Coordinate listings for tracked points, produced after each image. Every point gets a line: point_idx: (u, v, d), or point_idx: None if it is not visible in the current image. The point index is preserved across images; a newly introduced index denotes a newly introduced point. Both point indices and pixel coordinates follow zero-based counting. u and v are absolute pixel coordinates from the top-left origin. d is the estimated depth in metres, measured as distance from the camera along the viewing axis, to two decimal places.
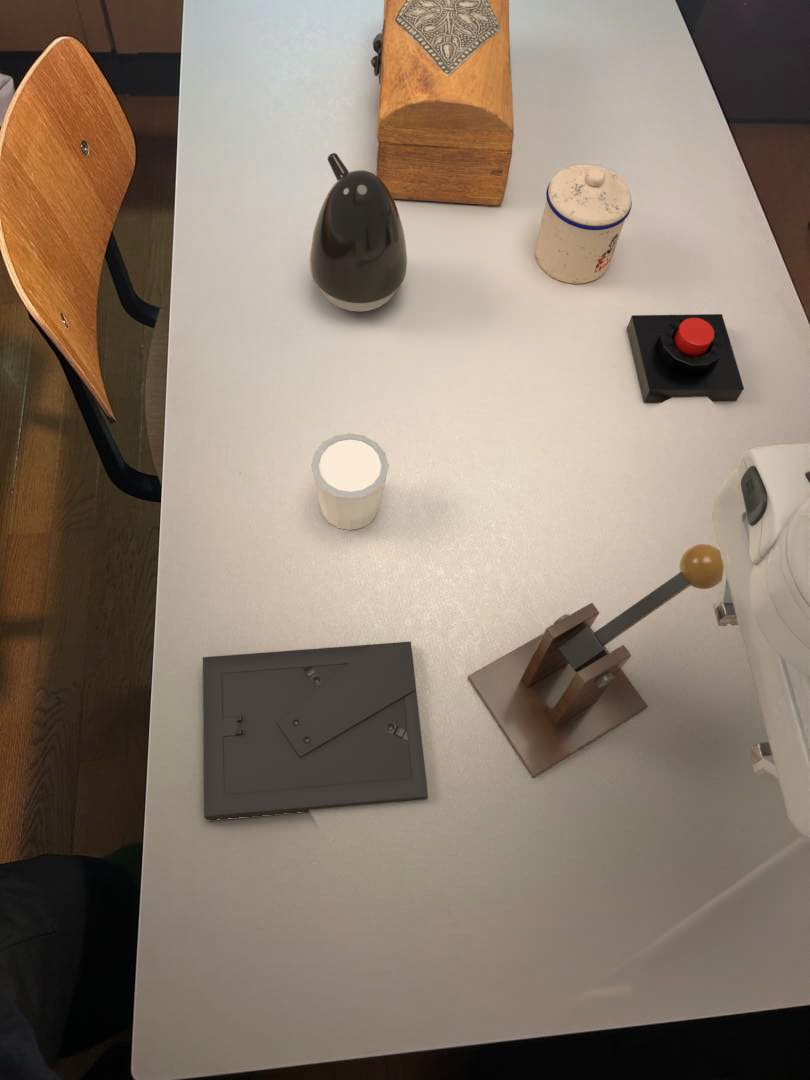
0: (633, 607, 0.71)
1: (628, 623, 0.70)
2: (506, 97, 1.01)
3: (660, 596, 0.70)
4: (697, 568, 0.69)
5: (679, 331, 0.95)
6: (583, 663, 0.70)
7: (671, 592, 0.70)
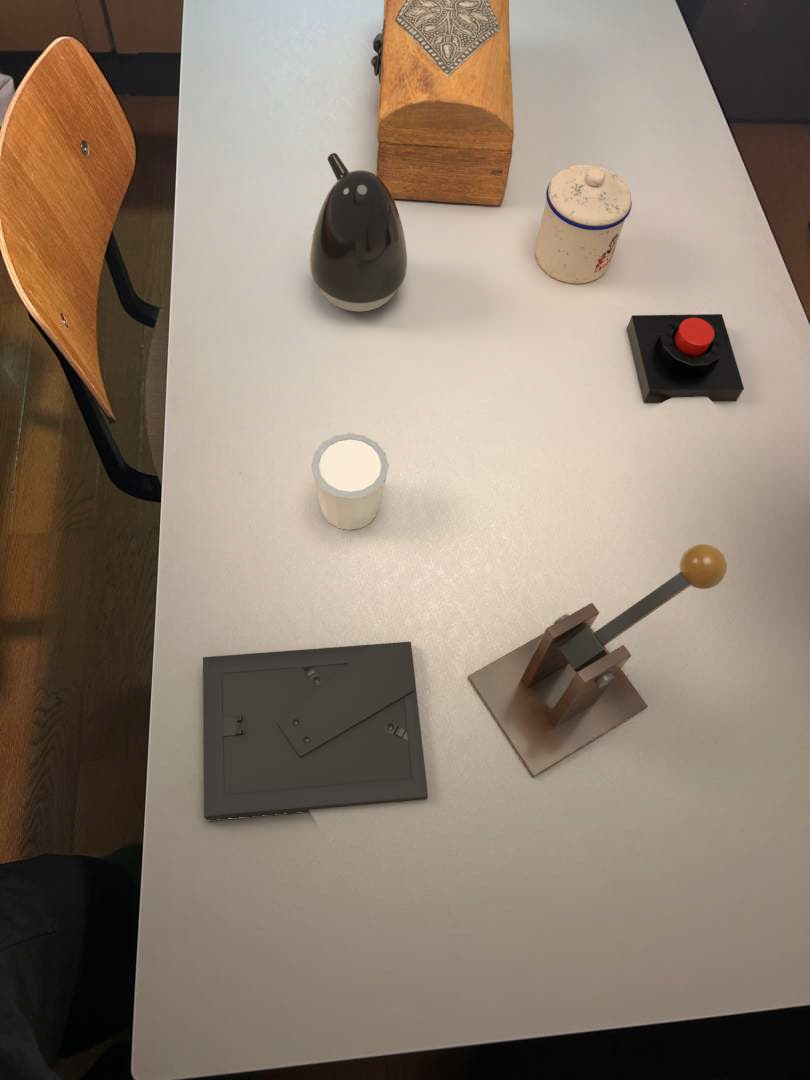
0: (633, 607, 0.71)
1: (628, 623, 0.70)
2: (506, 97, 1.01)
3: (660, 596, 0.70)
4: (697, 568, 0.69)
5: (679, 331, 0.95)
6: (583, 663, 0.70)
7: (671, 592, 0.70)
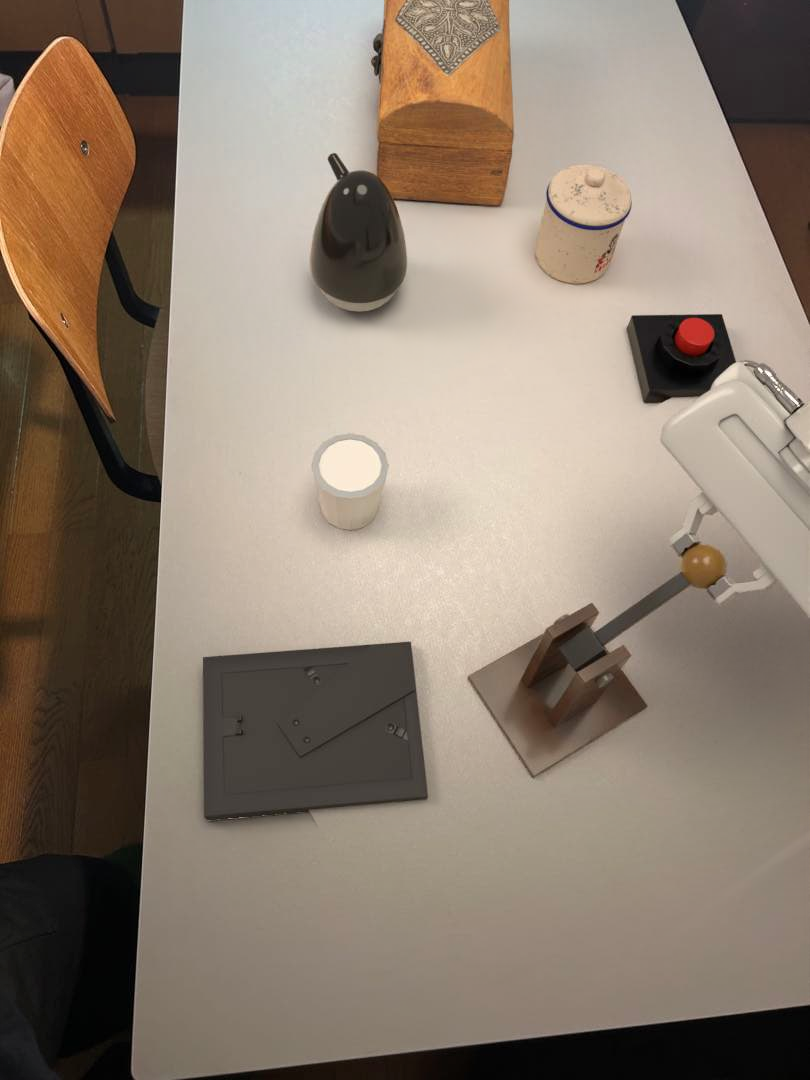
0: (633, 607, 0.71)
1: (628, 623, 0.70)
2: (506, 97, 1.01)
3: (660, 596, 0.70)
4: (697, 568, 0.69)
5: (679, 331, 0.95)
6: (583, 663, 0.70)
7: (671, 592, 0.70)
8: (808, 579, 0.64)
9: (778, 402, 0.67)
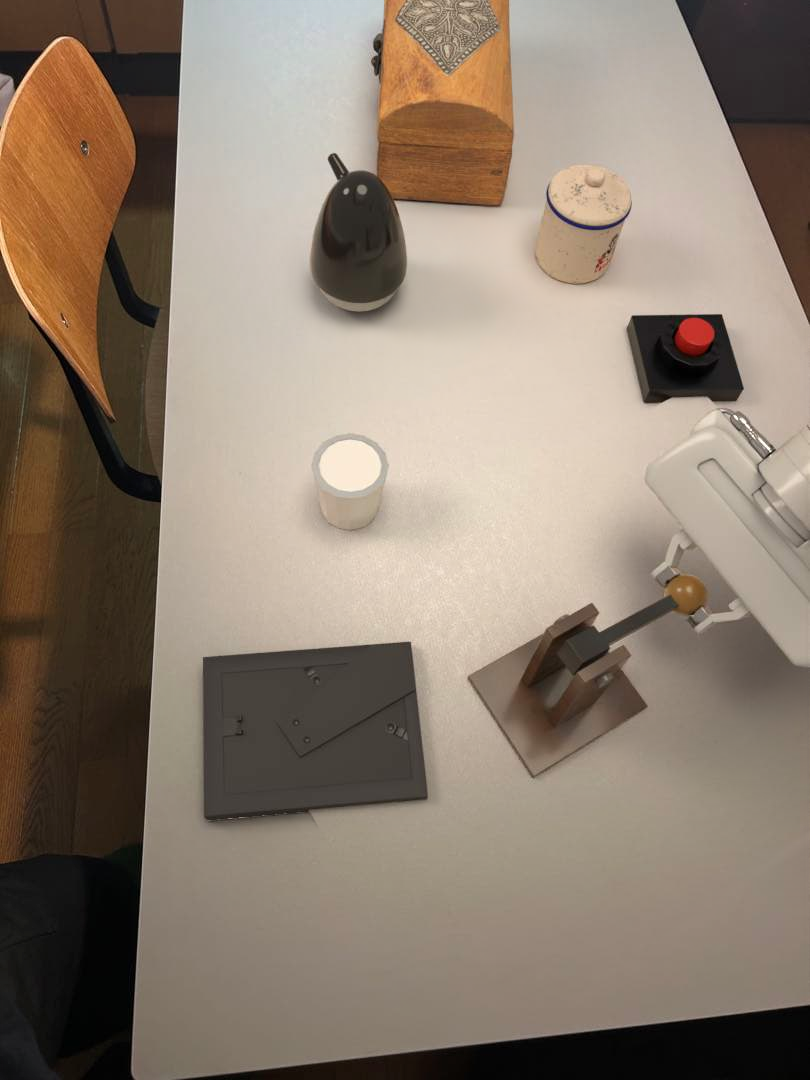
0: (630, 617, 0.73)
1: (627, 630, 0.73)
2: (506, 97, 1.01)
3: (654, 611, 0.74)
4: (690, 590, 0.74)
5: (679, 331, 0.95)
6: (591, 657, 0.70)
7: (663, 610, 0.74)
8: (778, 611, 0.70)
9: (752, 447, 0.73)
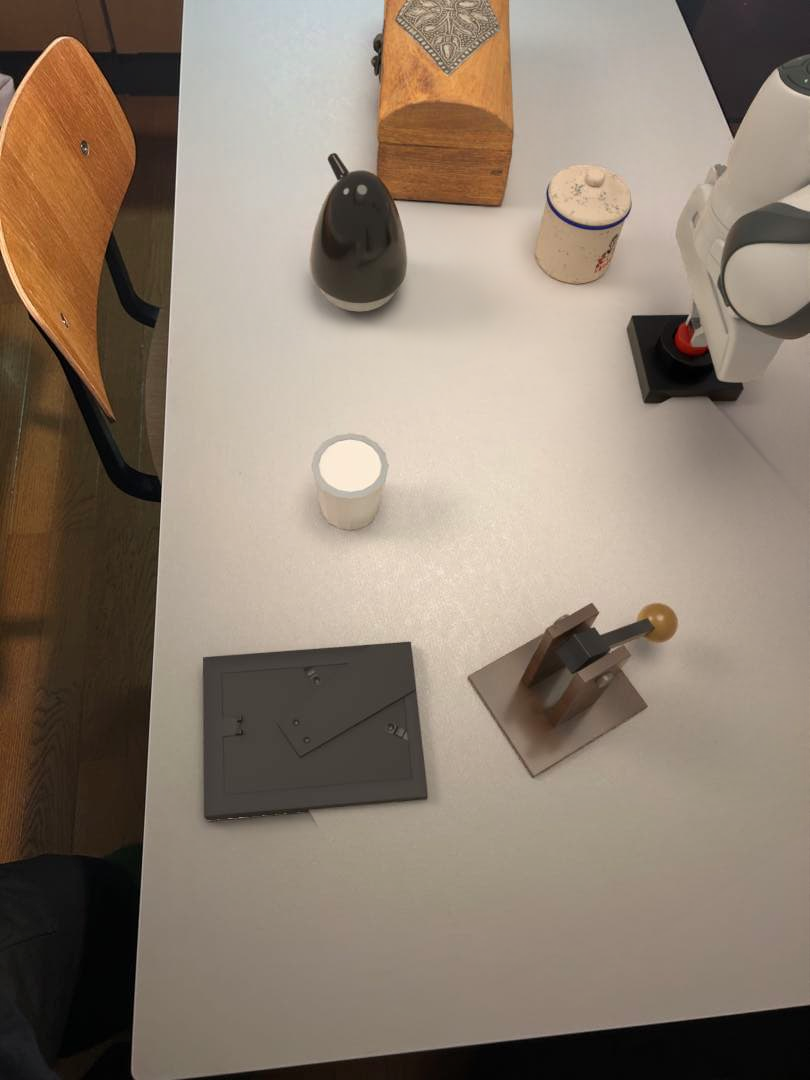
0: (619, 629, 0.75)
1: (618, 640, 0.74)
2: (506, 97, 1.01)
3: (637, 629, 0.76)
4: (667, 615, 0.78)
5: (678, 334, 0.95)
6: (596, 654, 0.70)
7: (644, 629, 0.77)
8: (713, 337, 0.87)
9: None
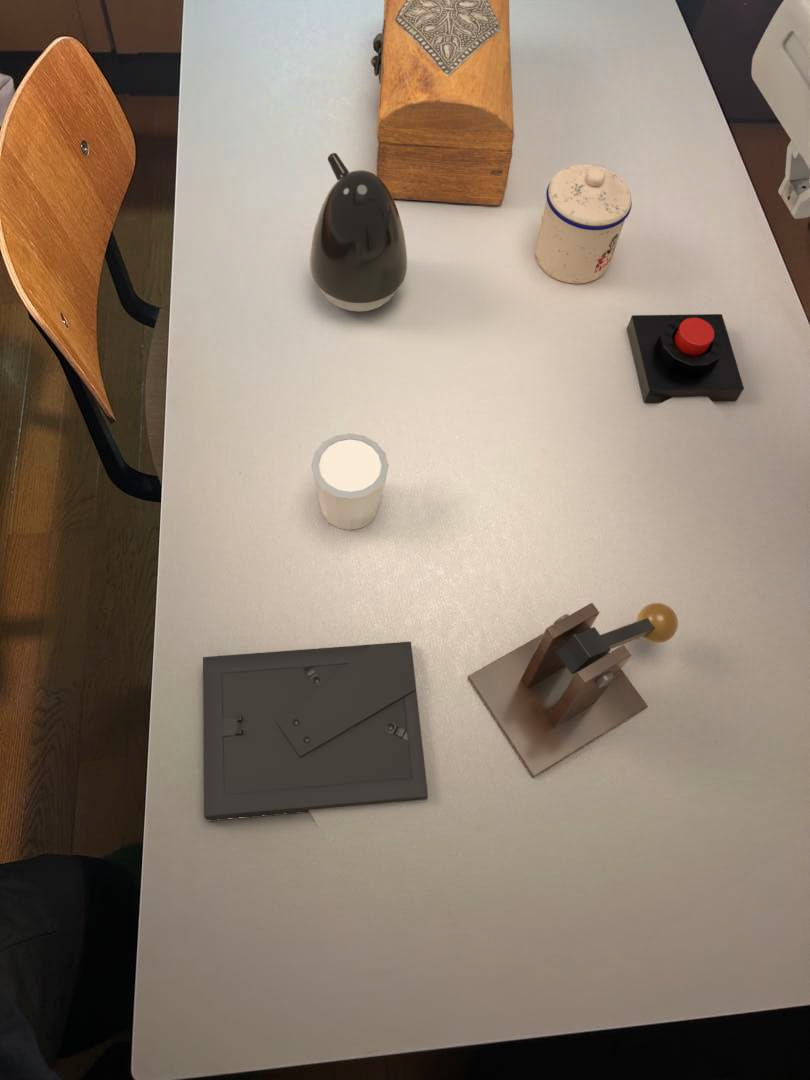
0: (619, 629, 0.75)
1: (618, 640, 0.74)
2: (506, 97, 1.01)
3: (637, 629, 0.76)
4: (667, 615, 0.78)
5: (679, 331, 0.95)
6: (596, 654, 0.70)
7: (644, 629, 0.77)
8: None
9: None
